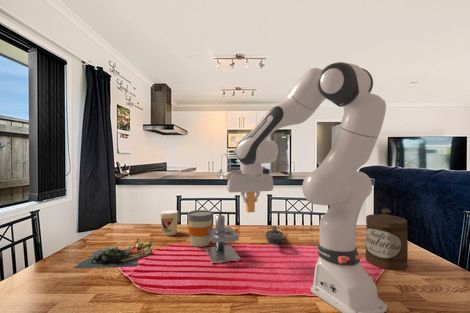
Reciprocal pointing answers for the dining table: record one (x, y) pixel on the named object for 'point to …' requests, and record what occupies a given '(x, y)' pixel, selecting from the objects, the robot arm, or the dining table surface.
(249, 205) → the wedge pin
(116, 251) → the plated dish
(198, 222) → the reusable coffee cup
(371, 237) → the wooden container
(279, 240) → the zipper pull
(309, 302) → the dining table surface
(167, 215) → the coffee cup
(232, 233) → the grey finned stand
